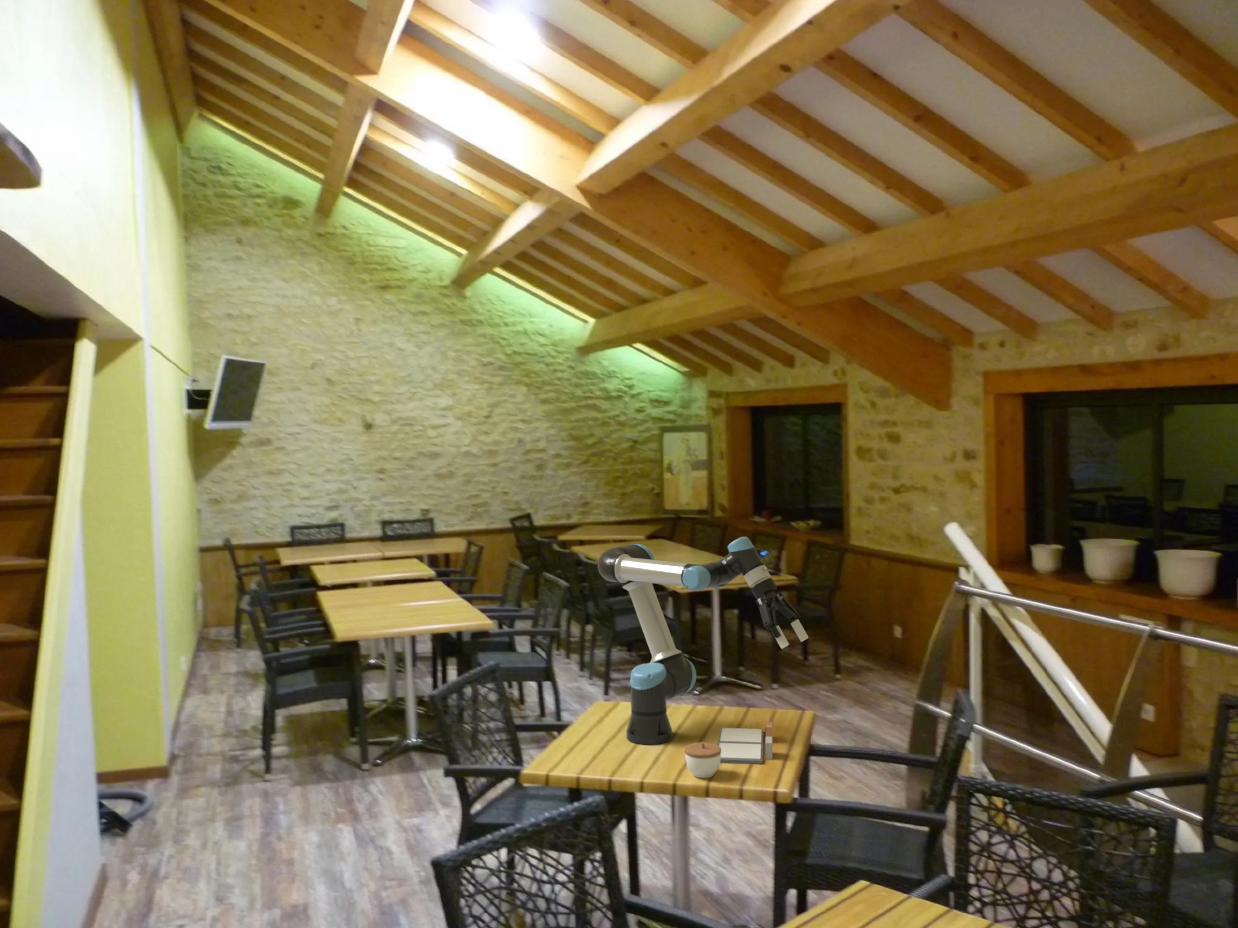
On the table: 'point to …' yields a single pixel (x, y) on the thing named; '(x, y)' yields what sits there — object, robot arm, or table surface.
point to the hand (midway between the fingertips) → (795, 643)
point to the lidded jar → (703, 759)
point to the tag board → (745, 745)
